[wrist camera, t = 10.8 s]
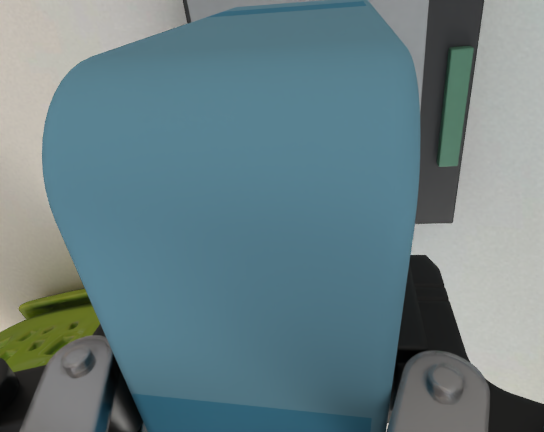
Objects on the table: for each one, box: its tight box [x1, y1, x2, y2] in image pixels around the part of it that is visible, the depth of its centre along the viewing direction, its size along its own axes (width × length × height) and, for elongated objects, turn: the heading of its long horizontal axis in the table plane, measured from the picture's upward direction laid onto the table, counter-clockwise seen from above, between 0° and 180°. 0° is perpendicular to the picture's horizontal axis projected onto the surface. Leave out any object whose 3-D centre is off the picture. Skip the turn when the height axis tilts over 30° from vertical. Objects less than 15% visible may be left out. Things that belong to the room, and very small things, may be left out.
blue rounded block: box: [42, 0, 420, 432], centre depth 12 cm, size 12×4×12 cm, turn 4°
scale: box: [183, 0, 484, 224], centre depth 22 cm, size 14×14×3 cm
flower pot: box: [0, 289, 100, 372], centre depth 32 cm, size 14×14×13 cm
